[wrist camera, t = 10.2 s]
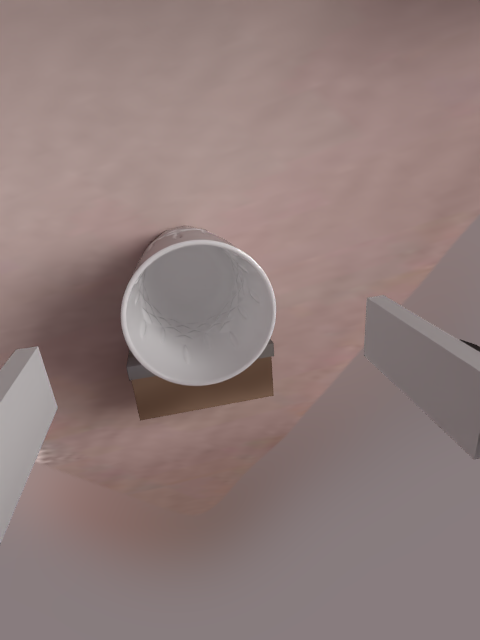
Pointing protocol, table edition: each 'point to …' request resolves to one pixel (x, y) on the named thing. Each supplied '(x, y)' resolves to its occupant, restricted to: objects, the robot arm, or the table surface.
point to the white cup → (197, 308)
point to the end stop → (198, 388)
